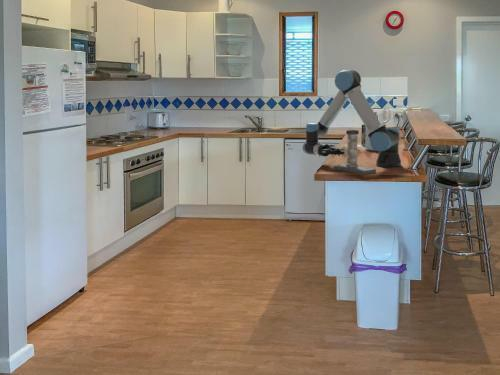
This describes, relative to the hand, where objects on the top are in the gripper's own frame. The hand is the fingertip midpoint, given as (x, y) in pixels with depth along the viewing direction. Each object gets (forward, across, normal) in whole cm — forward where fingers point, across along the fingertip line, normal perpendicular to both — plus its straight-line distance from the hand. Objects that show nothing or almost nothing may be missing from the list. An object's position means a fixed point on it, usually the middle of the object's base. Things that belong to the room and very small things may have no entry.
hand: (348, 153), depth 421 cm
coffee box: (-83, -98, -10) cm, 129 cm away
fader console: (+4, -1, -10) cm, 11 cm away
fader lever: (+2, -1, -8) cm, 8 cm away
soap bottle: (-63, -83, -10) cm, 104 cm away
